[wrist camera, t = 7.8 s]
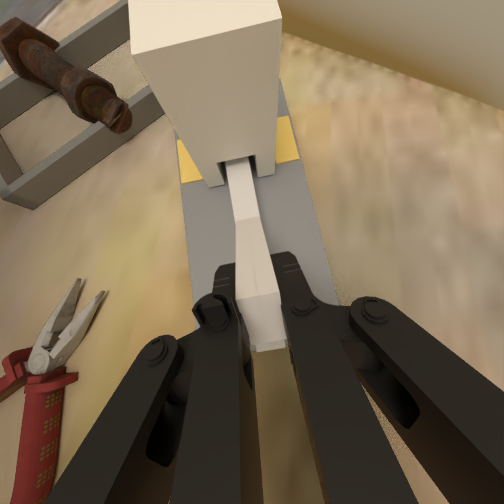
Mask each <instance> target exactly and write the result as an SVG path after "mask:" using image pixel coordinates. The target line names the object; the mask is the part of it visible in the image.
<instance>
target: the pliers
mask: <svg viewBox="0 0 504 504" xmlns="http://www.w3.org/2000/svg"><path fill="white" fill-rule="evenodd" d="M80 283H81V279H80V278H77V279H76V281H75V282H74V284H73V285H72V287H71V288H70V289H69V291H68V292H67V294H66V295H65V297H64V298H63V299H62V301H61V302H60V304H59V305H58V307H57V308H56V309H55V311H54V312H53V314H52V315H51V317H50V318H49V319H48V321H47V322H46V324H45V325H44V327H43V329H42V330H41V332H40V334H39V336H38V338H37V340H36V342H35V345H34V347H30V348H26V349H21V350H17V351H14V352H12V353H11V354H9V355H8V356H7V357H5V358H4V359H3V361H2V365H3V368H4V371H5V374H6V375H4V376H3V377H2V378H0V402H2V401H3V400H5V399H6V398H7V397H9V396H10V395H11V394H13V393H14V392H15V391H17V390H18V389H19V388H21V387H22V386H23V385H25V384H26V383H27V384H26V385H25V390H24V394H26V396H25V404H24V412H23V420H22V427H21V435H20V443H19V451H18V459H17V467H16V474H15V482H14V488H13V493H12V497H11V502H10V504H43V503H44V502H45V500H46V499H47V497H48V496H49V493H50V490H51V487H52V483H53V479H54V475H55V470H56V463H57V454H58V443H59V432H60V422H61V411H62V400H63V389H64V386H66V385H68V384H70V383H73V382H75V381H77V380H78V372H76V373H66V367H61V366H62V365H64V363H65V362H66V361H67V359H68V358H69V357H70V355H71V354H72V353H73V351H74V350H75V349H76V347H77V346H78V345H79V343H80V342H81V340H82V339H83V337H84V335H85V333H86V330H87V328H88V326H89V324H90V322H91V320H92V318H93V316H94V314H95V312H96V310H97V308H98V306H99V303H100V301H101V299H102V297H103V295H104V293H105V291H101V292H100V293H99V294H98V295H97V296H96V297H95V298H94V299H93V300H92V301H91V302H90V303H89V304H88V305H87V306H86V307H85V308H84V309H83V310H82V311H81V312H80V313H79V314H78V315H77V316H76V317H75V318H74V319H73V320H72V317H73V314H74V310H75V305H76V301H77V297H78V292H79V288H80ZM71 320H72V322H71ZM63 330H64V331H63ZM62 331H63V332H62ZM61 332H62V333H61ZM60 333H61V334H60Z"/></svg>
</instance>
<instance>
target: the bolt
mask: <svg viewBox="0 0 504 504" xmlns="http://www.w3.org/2000/svg"><path fill="white" fill-rule="evenodd" d="M59 46H60V45H59V43H58V42H57V41H55V40H54V39H52V38H51V37H49V36H48V35H46V34H44V33H43V32H41V31H39V30H38V29H36V28H34V27H33V26H31V25H29V24H27V23H26V22H24V21H22V20H20V19H19V18H17V17H15V18H12V19H10V20H9V21H7V22H6V23H4V24H3V25H2V26H1V27H0V49H1V51H2V53H3V55H4V57H5V59H6V60H7V62H8V64H9V65H10V67H11V68H12V70H13V71H14V73H15V74H17V75H18V76H19V77H20V78H23V79H25V80H28V81H30V82H33V83H35V84H38V85H40V86H43V87H45V88H48V89H50V90H53V91H54V90H57V91H58V92H59V93H61V94H62V95H63V96H64V97H65V99H66V101H67V103H68V105H69V107H70V109H71V111H72V113H74V114H75V115H76V116H78V117H79V118H81V119H84V120H86V121H89V122H91V123H94V124H95V123H96V122H97V121H101V123H103V124H104V125H105V126H106V127H107V128H109V127H110V126H111V123H112V121H113V119H114V117H115V116H117V115H119V114H121V115H120V116H119V117H118V119H117V120H116V121H115V122H114V123H113V124H112V126H111V127H110V128H109V129H110V131H111V132H113V133H116V134H121V133H124V132H126V131H127V130H129V128H130V127H131V125H132V113H131V111H130V110H129V108H128V106H129V105H128V104H127V103H125V102H124V101H123V100H121V99H120V98H118V97H117V95H116V92H115V89H114V87H113V85H112V84H111V83H110V82H108V81H107V80H105V79H103V78H102V77H100V76H98V75H96V74H95V73H93V72H91V71H89V70H87V69H85V68H83V67H81V66H79V65H78V66H76V67H75V66H73V65H72V64H70V63H68V62H67V61H66V60H64V59H63V58H62V57H61V56H59V55H58V54H57V53H56V52H55V50H56V49H57V48H58V47H59Z"/></svg>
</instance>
